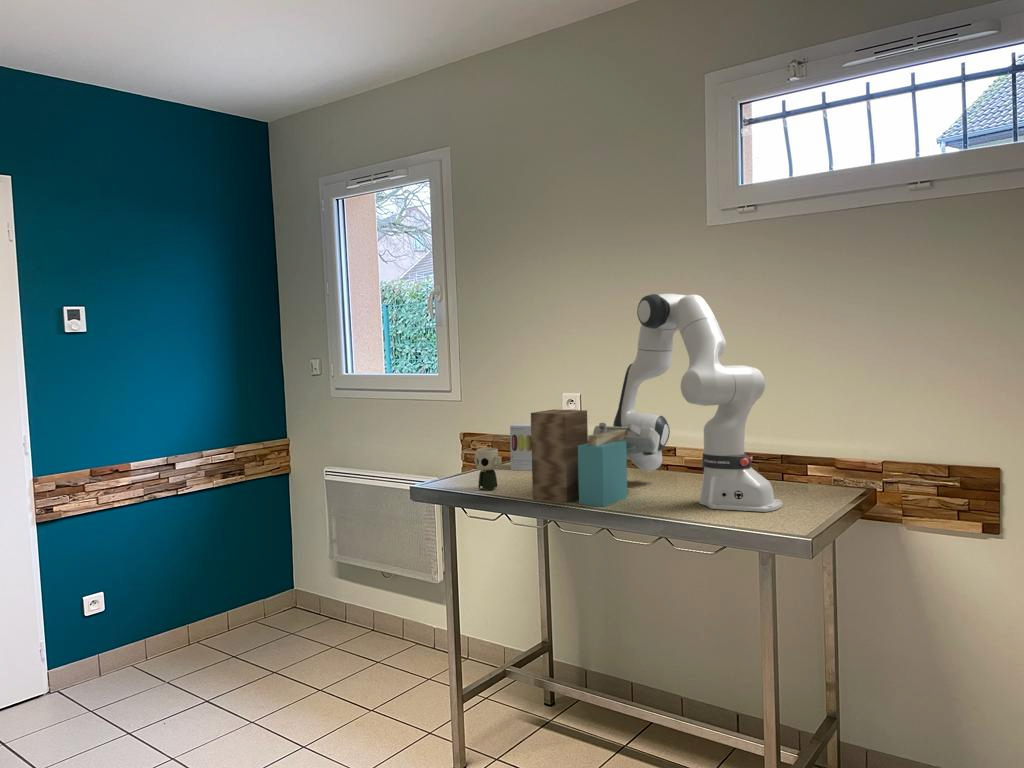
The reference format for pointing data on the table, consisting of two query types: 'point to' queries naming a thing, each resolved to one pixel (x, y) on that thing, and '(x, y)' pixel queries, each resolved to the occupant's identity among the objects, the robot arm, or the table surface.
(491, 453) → the character mug
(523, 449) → the supplement box
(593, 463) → the teal rectangular block
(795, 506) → the table surface
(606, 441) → the baton
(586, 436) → the pillar
